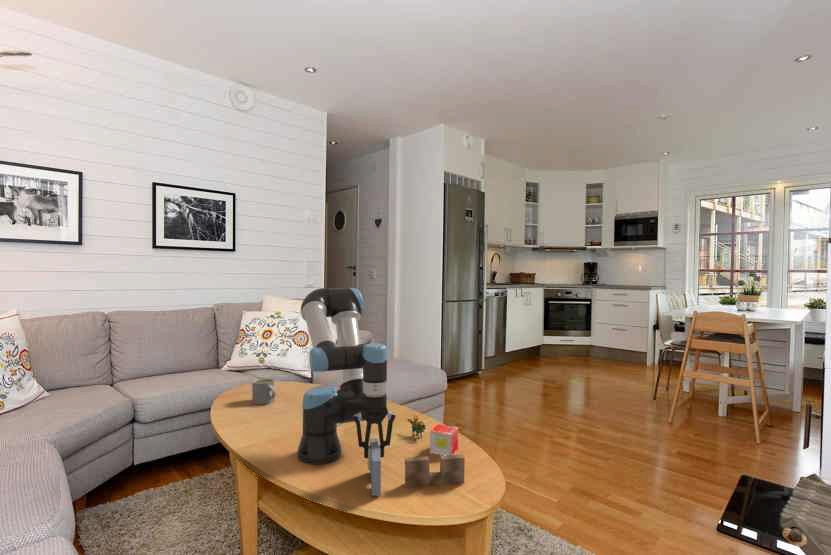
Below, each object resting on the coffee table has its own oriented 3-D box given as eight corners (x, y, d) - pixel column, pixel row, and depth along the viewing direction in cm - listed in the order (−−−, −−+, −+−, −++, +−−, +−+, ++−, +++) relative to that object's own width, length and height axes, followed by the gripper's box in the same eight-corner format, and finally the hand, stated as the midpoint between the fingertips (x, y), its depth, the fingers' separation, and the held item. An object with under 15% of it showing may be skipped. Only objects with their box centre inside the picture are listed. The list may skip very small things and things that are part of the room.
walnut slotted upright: (405, 487, 131) (406, 461, 131) (404, 483, 134) (405, 457, 133) (464, 483, 134) (464, 457, 134) (462, 479, 136) (462, 454, 136)
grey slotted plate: (372, 495, 125) (372, 461, 125) (369, 469, 141) (369, 438, 141) (380, 495, 126) (380, 460, 125) (377, 468, 141) (377, 438, 141)
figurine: (422, 441, 166) (422, 420, 165) (403, 431, 175) (403, 411, 175) (428, 439, 167) (428, 418, 167) (410, 430, 177) (410, 410, 177)
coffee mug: (248, 401, 212) (248, 380, 212) (268, 397, 219) (268, 377, 219) (261, 407, 203) (261, 386, 202) (281, 403, 210) (281, 382, 209)
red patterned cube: (429, 453, 156) (429, 431, 155) (437, 445, 163) (437, 423, 163) (451, 457, 152) (451, 434, 152) (458, 448, 160) (458, 427, 159)
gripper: (349, 398, 132) (349, 474, 133) (400, 396, 135) (399, 471, 136) (349, 390, 140) (349, 463, 141) (397, 389, 142) (397, 460, 143)
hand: (374, 467), depth 138 cm, fingers closed on grey slotted plate, 2 cm apart
